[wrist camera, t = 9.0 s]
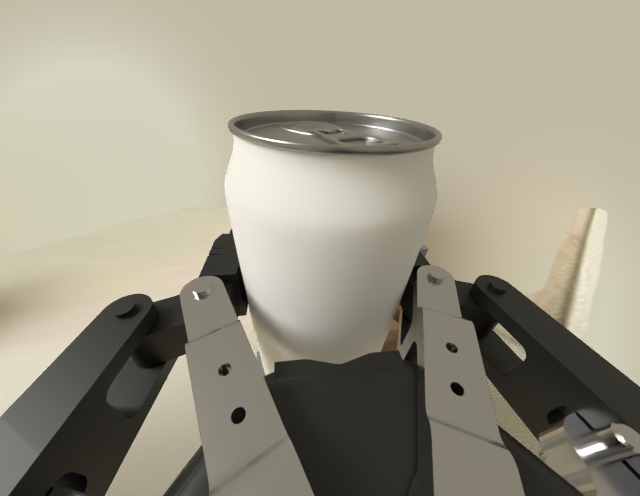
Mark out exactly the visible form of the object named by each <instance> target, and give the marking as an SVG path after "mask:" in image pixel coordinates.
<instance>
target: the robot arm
mask: <svg viewBox="0 0 640 496" xmlns="http://www.w3.org/2000/svg"><path fill="white" fill-rule="evenodd" d="M399 305H400V306H401V308H402V310H401V312H400V317H399V331H398V344H397V350H395V351H385V352H374V353H368V354H366V355H363V356H361V357H358V358H356V359H353V360H351V361H348V362H345V363H343V364H334V363H328V362H322V361H316V360H310V359H301V360H290V361H280V362H274V372H272V373H270V374H267V375H266V376H264V377H263V375H262V372H261V370H260V367H259V365H258V363H257V360H256V358H255V355H254V353H253V351H252V348H251V346H250V343H249V341H248V338H247V336H246V334H245V331H244V329H243V326H242V324H241V322H240V320H238V316H243V315H246V313H247V307H248V300H247V296H246V291H245V287H244V282H243V278H242V273H241V269H240V264H239V259H238V255H237V250H236V246H235V241H234V237H233V232H232V228H231V231H230V234H222V235H221V236H219V237H218V238H217V239H216V240H215V241H214V243H213V246H212V249H211V250H210V253H209V256H208V257H207V260H206V262H205V264H204V266H203V269H202V271H201V273H200V276H199V278H196V279H194V280H192V281H190V282H189V283H188V284H186V285H185V286H184V287H183V289H182V290H181V292H180V294H179V295H177V296H174V297H171V298H167V299H163V300H160V301H156V302H153V301H152V300H151V298H150V297H149V296H147V295H144V294H133V295H128V296H125V297H122V298H120V299H118V300H116V301H114V302H113V303H111V304H110V305H108V306H107V307H106V308H105V309H104V310H103V311H102V312H101V313H100V314H99V315H98V316H97V317H96V318H95V319H94V320H93V321H92V322H91V323H90V324H89V325H88V326H87V327H86V328H85V329H84V330H83V331H82V333H81V334H80V335H79V336H78V337H77V338H76V339H75V340H74V341H73V342H72V343H71V344H70V345H69V346H68V347H67V348H66V349H65V350H64V351H63V352H62V353H61V354H60V355H59V356H58V357H57V359H56V360H55V361H54V362H53V363H52V364H51V365H50V366H49V367H48V368H47V369H46V370H45V371H44V372H43V373H42V374H41V375H40V376H39V377H38V378H37V379H36V380H35V381H34V382H33V384H32V385H31V386H30V387H29V388H28V389H27V390H26V391H25V392H24V393H23V394H22V395H21V396H20V397H19V398H18V399H17V400H16V401H15V402H14V403H13V404H12V405H11V406H10V407H9V408H8V410H7V411H6V412H5V413H4V414H3V415H2V416H1V417H0V496H105V494H106V492H107V490H108V488H109V486H110V484H111V482H112V480H113V479H114V477H115V475H116V473H117V471H118V469H119V467H120V465H121V464H122V462H123V460H124V458H125V456H126V454H127V452H128V450H129V448H130V447H131V445H132V443H133V441H134V439H135V437H136V435H137V433H138V431H139V430H140V428H141V426H142V424H143V422H144V420H145V418H146V416H147V415H148V413H149V411H150V409H151V407H152V405H153V403H154V401H155V399H156V398H157V396H158V394H159V392H160V390H161V388H162V386H163V384H164V382H165V381H166V379H167V377H168V375H169V373H170V371H171V369H172V367H173V365H174V364H175V362H176V360H177V358H178V357H179V356H182V355H184V354H186V357H187V362H188V368H189V374H190V379H191V385H192V391H193V396H194V402H195V407H196V413H197V419H198V424H199V430H200V436H201V441H202V445H201V446H200V448H199V449H198V450H197V452H196V453H195V454H194V456H193V457H192V458H191V460H190V461H189V462H188V464H187V465H186V466H185V467H184V469H183V470H182V471H181V473H180V474H179V475H178V477H177V478H176V479H175V481H174V482H173V483H172V484H171V486H170V487H169V488H168V490H167V491H166V492H165V494H164V495H163V496H640V387H639V386H638V385H637V384H635V383H634V382H633V381H632V380H630V379H629V378H628V377H627V376H625V375H624V374H623V373H622V372H620V371H619V370H618V369H616V368H615V367H614V366H613V365H612V364H610V363H609V362H608V361H606V360H605V359H604V358H603V357H601V356H600V355H599V354H598V353H596V352H595V351H594V350H592V349H591V348H590V347H589V346H588V345H586V344H585V343H584V342H583V341H581V340H580V339H579V338H577V337H576V336H575V335H574V334H572V333H571V332H570V331H569V330H567V329H566V328H565V327H564V326H562V325H561V324H560V323H559V322H557V321H556V320H555V319H554V318H552V317H551V316H550V315H548V314H547V313H546V312H545V311H543V310H542V309H541V308H540V307H538V306H537V305H536V304H535V303H533V302H532V301H531V300H530V299H528V298H527V297H526V296H524V295H523V294H522V293H521V292H519V291H518V290H517V289H516V288H514V287H513V286H512V285H510V284H509V283H508V282H506V281H504V280H502V279H500V278H498V277H495V276H490V275H482V276H479V277H478V278H477V279H476V281H475V282H474V284H471V283H466V282H460V281H455V280H454V278H453V277H452V276H451V274H450V273H448V272H447V271H446V270H444V269H442V268H440V267H437V266H432V265H430V264H429V263H428V261H427V260H426V259H425V257H424V256H423V255H422V253H421V252H420V251H419V253H418V256H417V259H416V261H415V264H414V267H413V269H412V272H411V274H410V277H409V280H408V282H407V285H406V288H405V290H404V293H403V295H402V298H401V301H400V303H399ZM498 323H500V324H501V325H502V326H503V327H504V328H505V329H506V330H507V331H508V332H509V333H510V334H511V335H512V336H513V337H514V338H515V339H516V340H517V341H518V342H519V343H520V344H521V345H522V346H523V348H524V349H525V352H526V359H525V360H524V361H522V360H521V359H520V358H519V357H518V356H517V355H516V354H515V353H514V352H513V351H512V350H511V349H510V348H509V347H508V346H507V344H506V343H505V342H504V341H503V340H502V339H501V338H500V337H499V336H498V335H497V334H496V333H495V332H494V331H493V329H494V327H495V326H496V325H497V324H498ZM486 376H487V377H488V378H489V380H490V381H491V382H492V383H493V385H494V386H495V387H496V388H497V390H498V391H499V392H500V393H501V395H502V396H503V397H504V398H505V400H506V401H507V402H508V403H509V405H510V406H511V407H512V408H513V410H514V411H515V412H516V413H517V415H518V416H519V417H520V418H521V420H522V421H523V422H524V423H525V425H526V426H527V427H528V428H529V430H530V431H531V432H532V433H533V435H534V436H535V437H536V438H537V440H538V441H539V443H540V446H541V449H542V452H540V453H539V458H538V457H537V456H536V455H534V454H533V453H532V452H531V451H529V450H528V449H527V448H526V447H524V446H523V445H522V444H521V443H519V442H518V441H517V440H516V439H515V438H513V437H512V436H511V435H510V434H508V433H507V432H506V431H505V430H503V429H502V428H501V427H500V426H498V425H497V420H496V416H495V412H494V408H493V403H492V399H491V395H490V391H489V387H488V382H487V378H486Z"/></svg>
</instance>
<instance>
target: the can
mask: <svg viewBox="0 0 640 496" xmlns="http://www.w3.org/2000/svg"><path fill="white" fill-rule="evenodd" d="M228 128H229V130H230V132H231V133H233V134H234V146H233V152H232V155H231V158H230V162H229V165H228V168H227V172H226V177H225V183H224V187H225V197H226V202H227V207H228V213H229V218H230V222H231V227H232V232H233V237H234V241H235V246H236V250H237V255H238V259H239V264H240V269H241V273H242V278H243V282H244V287H245V291H246V296H247V300H248V304H249V309H250V313H251V318H252V322H253V327H254V331H255V335H256V340H257V344H258V348H259V353H260V357H261V361H262V365H263V368H264V372H265V374H266V375H267V374H270V373H272V372H274V362H280V361H290V360H301V359H310V360H316V361H322V362H328V363H334V364H343V363H345V362H348V361H351V360H353V359H356V358H358V357H361V356H363V355H366V354H368V353H374V352H381V350H382V347H383V345H384V342H385V340H386V337H387V334H388V332H389V329H390V327H391V324H392V321H393V319H394V316H395V314H396V311H397V308H398V306H399V303H400V301H401V298H402V295H403V293H404V290H405V288H406V285H407V282H408V280H409V277H410V274H411V272H412V269H413V267H414V264H415V261H416V259H417V256H418V253H419V251H420V248H421V245H422V243H423V240H424V237H425V235H426V232H427V229H428V226H429V223H430V220H431V218H432V215H433V212H434V208H435V204H436V200H437V187H436V178H435V172H434V165H433V152H434V147H435V146H436V145H437V144H439V142H440V141H441V139H442V134H441V132H440V131H438V130H437V129H435V128H433V127H431V126H428V125H425V124H422V123H419V122H415V121H410V120H406V119H400V118H395V117H389V116H382V115H374V114H364V113H355V112H354V113H353V112H340V111H322V110H283V111H282V110H281V111H266V112H256V113H250V114H244V115H240V116H237V117H235V118H232V119H231V120H230V121H229V122H228Z"/></svg>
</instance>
